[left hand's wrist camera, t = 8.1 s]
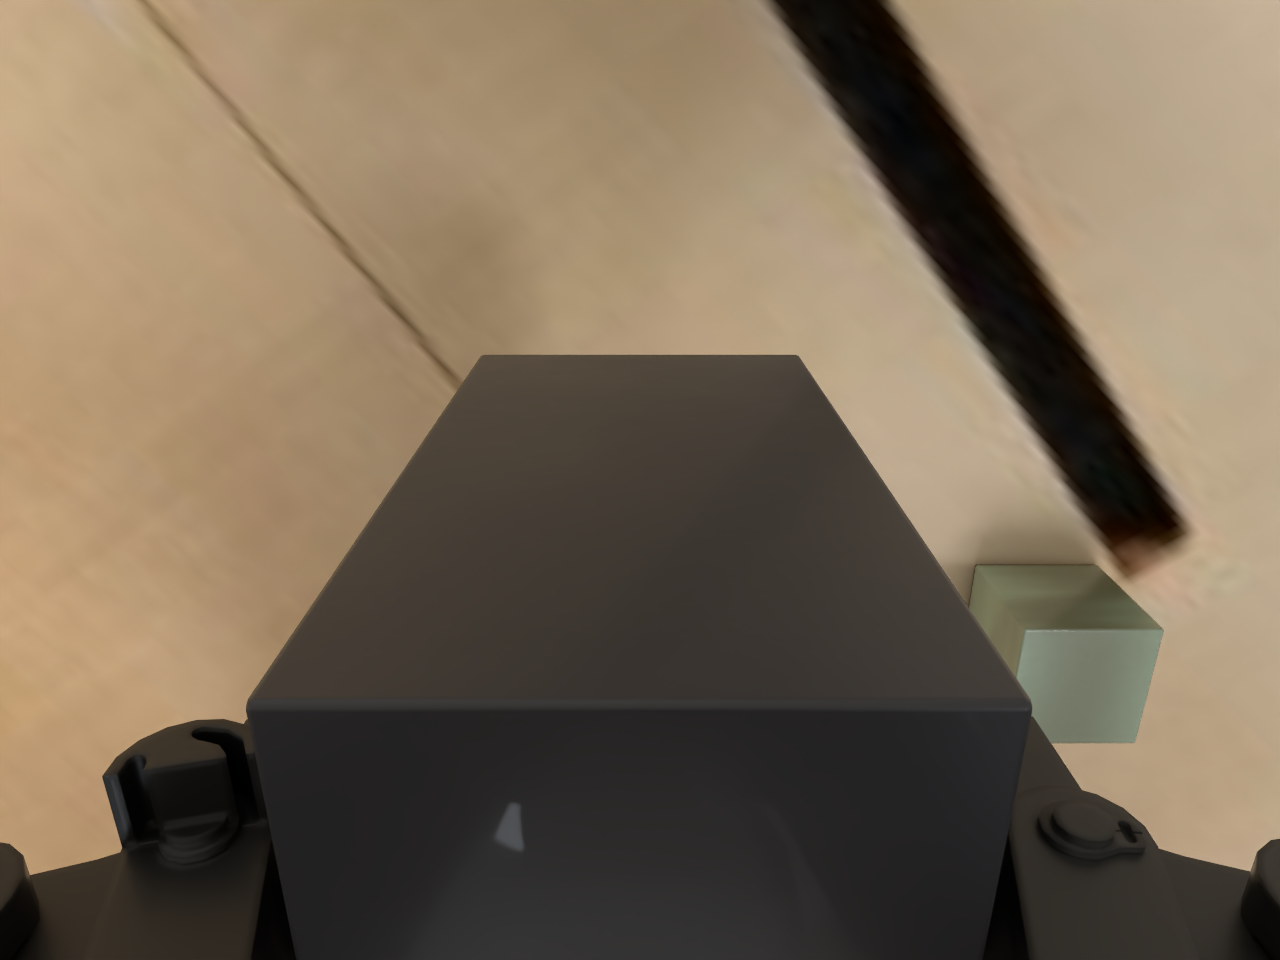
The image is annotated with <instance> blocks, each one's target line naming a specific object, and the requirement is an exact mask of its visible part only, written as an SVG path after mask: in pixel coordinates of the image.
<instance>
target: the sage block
mask: <svg viewBox="0 0 1280 960" xmlns="http://www.w3.org/2000/svg"><path fill="white" fill-rule="evenodd" d="M969 609H970V610H971V612H972V613H973V615H974V616H975V618H976V619H977V621H978V622H979V624H980V625H981V627H982V628H983V630H984V631H985V633H986V634H987V636H988V637H989V639H990V640H991V642H992V643H993V645H994V646H995V647H996V649H997V650H998V652H999V653H1000V655H1001V656H1002V658H1003V659H1004V661H1005V662H1006V664H1007V665H1008V667H1009V668H1010V670H1011V671H1012V673H1013V674H1014V676H1015V677H1016V679H1017V680H1018V681H1019V683H1020V684H1021V686H1022V687H1023V689H1024V690H1025V692H1026V693H1027V695H1028V696H1029V698H1030V699H1031V703H1032V715H1031V716H1033V717H1034V719H1035V720H1036V722H1037V723H1038V725H1039V726H1040V728H1041V729H1042V731H1043V732H1044V734H1045V735H1046V737H1047V738H1048V740H1049V741H1050V743H1135V740H1136V737H1137V733H1138V729H1139V725H1140V721H1141V717H1142V713H1143V709H1144V705H1145V701H1146V698H1147V694H1148V690H1149V686H1150V682H1151V678H1152V674H1153V670H1154V666H1155V662H1156V659H1157V655H1158V651H1159V647H1160V643H1161V639H1162V635H1163V628H1162V627H1161V626H1160V625H1159V624H1158V623H1157V622H1156V621H1154V620H1153V619H1152V618H1151V617H1150V616H1149V615H1148V614H1147V613H1146V612H1145V611H1144V610H1143V609H1142V608H1141V607H1140V606H1139V605H1138V604H1137V603H1136V602H1135V601H1134V600H1133V599H1132V598H1131V597H1130V596H1129V595H1128V594H1127V593H1126V592H1124V591H1123V590H1122V589H1121V588H1120V587H1119V586H1118V585H1117V584H1116V583H1115V582H1114V581H1113V580H1112V579H1111V578H1110V577H1109V576H1108V575H1107V574H1106V573H1105V572H1104V571H1103V570H1102V569H1101V568H1100V567H1099V566H1097V565H976V567H975V574H974V580H973V586H972V592H971V599H970V605H969Z"/></svg>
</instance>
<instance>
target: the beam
mask: <svg viewBox="0 0 1280 960" xmlns="http://www.w3.org/2000/svg"><path fill="white" fill-rule="evenodd" d="M246 712H247V717H248V722H249V727H250V732H251V737H252V742H253V747H254V752H255V757H256V762H257V767H258V772H259V777H260V782H261V787H262V792H263V797H264V802H265V807H266V812H267V817H268V822H269V827H270V831H271V836H272V841H273V846H274V851H275V856H276V861H277V866H278V871H279V876H280V881H281V886H282V891H283V896H284V901H285V906H286V911H287V916H288V921H289V926H290V931H291V936H292V941H293V946H294V951H295V956H296V960H983V955H984V950H985V945H986V940H987V935H988V930H989V925H990V920H991V915H992V910H993V905H994V900H995V895H996V890H997V885H998V880H999V875H1000V870H1001V865H1002V860H1003V855H1004V850H1005V845H1006V840H1007V835H1008V830H1009V825H1010V820H1011V815H1012V810H1013V805H1014V800H1015V795H1016V790H1017V785H1018V780H1019V775H1020V770H1021V765H1022V760H1023V755H1024V750H1025V745H1026V740H1027V735H1028V730H1029V725H1030V720H1031V715H1032V703H1031V699H1030V698H1029V696H1028V695H1027V693H1026V692H1025V690H1024V689H1023V687H1022V686H1021V684H1020V683H1019V681H1018V680H1017V679H1016V677H1015V676H1014V674H1013V673H1012V671H1011V670H1010V668H1009V667H1008V665H1007V664H1006V662H1005V661H1004V659H1003V658H1002V656H1001V655H1000V653H999V652H998V650H997V649H996V647H995V646H994V645H993V643H992V642H991V640H990V639H989V637H988V636H987V634H986V633H985V631H984V630H983V628H982V627H981V625H980V624H979V622H978V621H977V619H976V618H975V616H974V615H973V613H972V612H971V610H970V609H969V608H968V606H967V605H966V603H965V602H964V600H963V599H962V597H961V596H960V594H959V593H958V591H957V590H956V588H955V587H954V585H953V584H952V582H951V581H950V579H949V578H948V576H947V575H946V573H945V572H944V571H943V569H942V568H941V566H940V565H939V563H938V562H937V560H936V559H935V557H934V556H933V554H932V553H931V551H930V550H929V548H928V547H927V545H926V544H925V542H924V541H923V539H922V538H921V537H920V535H919V534H918V532H917V531H916V529H915V528H914V526H913V525H912V523H911V522H910V520H909V519H908V517H907V516H906V514H905V513H904V511H903V510H902V508H901V507H900V505H899V504H898V502H897V501H896V500H895V498H894V497H893V495H892V494H891V492H890V491H889V489H888V488H887V486H886V485H885V483H884V482H883V480H882V479H881V477H880V476H879V474H878V473H877V471H876V470H875V468H874V467H873V465H872V464H871V463H870V461H869V460H868V458H867V457H866V455H865V454H864V452H863V451H862V449H861V448H860V446H859V445H858V443H857V442H856V440H855V439H854V437H853V436H852V434H851V433H850V431H849V430H848V429H847V427H846V426H845V424H844V423H843V421H842V420H841V418H840V417H839V415H838V414H837V412H836V411H835V409H834V408H833V406H832V405H831V403H830V402H829V400H828V399H827V397H826V396H825V394H824V393H823V392H822V390H821V389H820V387H819V386H818V384H817V383H816V381H815V380H814V378H813V377H812V375H811V374H810V372H809V371H808V369H807V368H806V366H805V365H804V363H803V362H802V360H801V359H800V357H799V356H797V355H483V356H481V357H480V358H479V360H478V361H477V363H476V364H475V366H474V367H473V369H472V370H471V372H470V373H469V374H468V376H467V377H466V379H465V380H464V382H463V383H462V385H461V386H460V388H459V389H458V391H457V392H456V394H455V395H454V397H453V398H452V400H451V401H450V403H449V404H448V405H447V407H446V408H445V410H444V411H443V413H442V414H441V416H440V417H439V419H438V420H437V422H436V423H435V425H434V426H433V428H432V429H431V431H430V432H429V433H428V435H427V436H426V438H425V439H424V441H423V442H422V444H421V445H420V447H419V448H418V450H417V451H416V453H415V454H414V456H413V457H412V459H411V460H410V461H409V463H408V464H407V466H406V467H405V469H404V470H403V472H402V473H401V475H400V476H399V478H398V479H397V481H396V482H395V484H394V485H393V487H392V488H391V489H390V491H389V492H388V494H387V495H386V497H385V498H384V500H383V501H382V503H381V504H380V506H379V507H378V509H377V510H376V512H375V513H374V515H373V516H372V517H371V519H370V520H369V522H368V523H367V525H366V526H365V528H364V529H363V531H362V532H361V534H360V535H359V537H358V538H357V540H356V541H355V543H354V544H353V545H352V547H351V548H350V550H349V551H348V553H347V554H346V556H345V557H344V559H343V560H342V562H341V563H340V565H339V566H338V568H337V569H336V571H335V572H334V573H333V575H332V576H331V578H330V579H329V581H328V582H327V584H326V585H325V587H324V588H323V590H322V591H321V593H320V594H319V596H318V597H317V599H316V600H315V601H314V603H313V604H312V606H311V607H310V609H309V610H308V612H307V613H306V615H305V616H304V618H303V619H302V621H301V622H300V624H299V625H298V627H297V628H296V629H295V631H294V632H293V634H292V635H291V637H290V638H289V640H288V641H287V643H286V644H285V646H284V647H283V649H282V650H281V652H280V653H279V655H278V656H277V657H276V659H275V660H274V662H273V663H272V665H271V666H270V668H269V669H268V671H267V672H266V674H265V675H264V677H263V678H262V680H261V681H260V683H259V684H258V685H257V687H256V688H255V690H254V691H253V693H252V694H251V696H250V697H249V699H248V701H247V705H246Z"/></svg>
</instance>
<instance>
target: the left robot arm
mask: <svg viewBox="0 0 1280 960" xmlns="http://www.w3.org/2000/svg"><path fill="white" fill-rule="evenodd" d="M102 777H103V781H104V784H105V788H106V791H107V795H108V798H109V802H110V806H111V809H112V813H113V816H114V820H115V823H116V827H117V830H118V834H119V837H120V841H121V844H122V850H121V853H117V854H114V855H111V856H107V857H104V858H101V859H98V860H94V861H89V862H85V863H81V864H76V865H72V866H68V867H64V868H59V869H55V870H51V871H46V872H42V873H38V874H34V875H30V874H29V871H28V868H27V865H26V862H25V860H24V857H23V855H22V854H21V853H20V852H18V851H17V850H16V849H15V848H14V847H13V846H11V845H10V844H6V843H0V960H296V956H295V951H294V946H293V941H292V936H291V931H290V926H289V921H288V916H287V911H286V906H285V901H284V896H283V891H282V886H281V881H280V876H279V871H278V866H277V861H276V856H275V851H274V846H273V841H272V836H271V831H270V827H269V822H268V817H267V812H266V807H265V802H264V797H263V792H262V787H261V782H260V777H259V772H258V767H257V762H256V757H255V752H254V747H253V742H252V737H251V732H250V727H249V722H248V719H247V720H246V722H245V723H244V724H241V723H237V722H233V721H229V720H225V719H215V720H195V721H191V722H187V723H183V724H179V725H175V726H171V727H167V728H165V729H163V730H161V731H159V732H156V733H154V734H152V735H150V736H148V737H145V738H143V739H141V740H139V741H138V742H136V743H135V744H134V745H132V746H131V747H130V748H128V749H127V750H126V751H124V752H123V753H122V754H120V755H119V756H117V757H116V758H115V760H114V761H113V763H112V764H111V765H110V767H109V768H108V769H107V771H106V772H105V773H104V775H103V776H102ZM983 960H1280V839H1276V840H1271V841H1269V842H1268V843H1267V844H1266V845H1265V846H1264V847H1262V848H1261V849H1260V850H1259V851H1258V852H1257V854H1256V857H1255V860H1254V863H1253V866H1252V869H1251V872H1249V871H1245V870H1241V869H1236V868H1232V867H1228V866H1223V865H1219V864H1215V863H1210V862H1206V861H1202V860H1197V859H1193V858H1189V857H1184V856H1181V855H1178V854H1174V853H1171V852H1168V851H1165V850H1161V849H1158V846H1157V845H1156V843H1155V842H1154V840H1153V838H1152V837H1151V835H1150V834H1149V832H1148V831H1147V829H1146V827H1145V826H1144V825H1143V824H1141V823H1140V822H1139V821H1138V820H1137V819H1135V818H1134V817H1133V816H1132V815H1131V814H1130V813H1128V812H1127V811H1126V810H1125V809H1124V808H1122V807H1120V806H1118V805H1116V804H1114V803H1112V802H1110V801H1108V800H1106V799H1104V798H1103V797H1101V796H1099V795H1097V794H1093V793H1090V792H1086V791H1083V790H1081V788H1080V787H1079V785H1078V784H1077V782H1076V781H1075V779H1074V778H1073V776H1072V775H1071V773H1070V772H1069V770H1068V769H1067V767H1066V765H1065V764H1064V762H1063V761H1062V759H1061V758H1060V756H1059V755H1058V753H1057V752H1056V750H1055V749H1054V747H1053V746H1052V744H1051V743H1050V741H1049V740H1048V738H1047V737H1046V735H1045V734H1044V732H1043V731H1042V729H1041V728H1040V726H1039V725H1038V723H1037V722H1036V720H1035V719H1034V717H1033V716H1031V720H1030V725H1029V730H1028V735H1027V740H1026V745H1025V750H1024V755H1023V760H1022V765H1021V770H1020V775H1019V780H1018V785H1017V790H1016V795H1015V800H1014V805H1013V810H1012V815H1011V820H1010V825H1009V830H1008V835H1007V840H1006V845H1005V850H1004V855H1003V860H1002V865H1001V870H1000V875H999V880H998V885H997V890H996V895H995V900H994V905H993V910H992V915H991V920H990V925H989V930H988V935H987V940H986V945H985V950H984V955H983Z"/></svg>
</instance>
